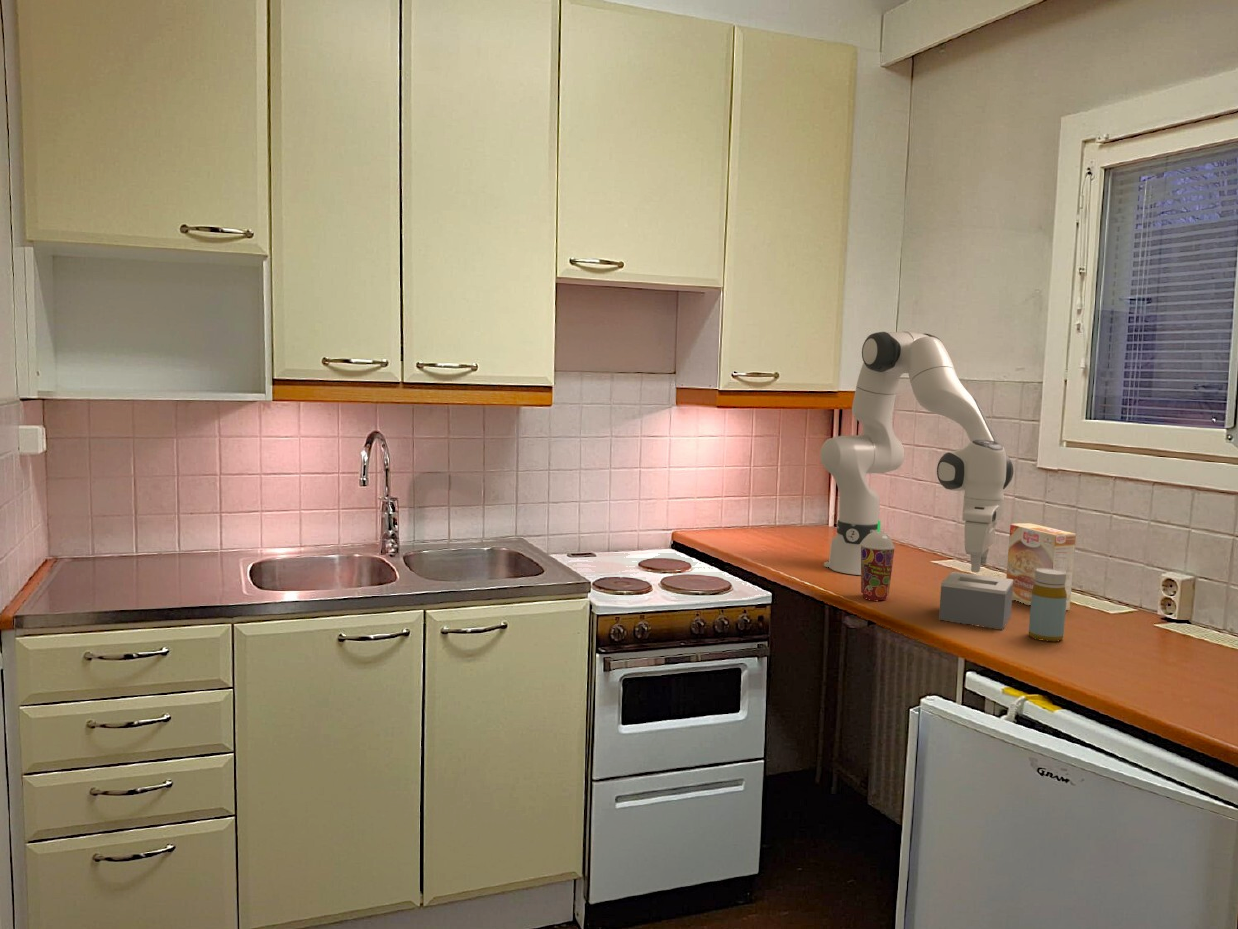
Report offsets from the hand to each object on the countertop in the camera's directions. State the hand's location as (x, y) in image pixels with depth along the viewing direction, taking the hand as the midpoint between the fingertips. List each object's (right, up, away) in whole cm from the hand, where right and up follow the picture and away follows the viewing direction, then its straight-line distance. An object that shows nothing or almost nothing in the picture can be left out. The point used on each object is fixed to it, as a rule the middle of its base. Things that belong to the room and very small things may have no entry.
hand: (978, 568), depth 223 cm
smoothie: (-20, -10, +18) cm, 28 cm away
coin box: (0, -12, +1) cm, 12 cm away
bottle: (+10, -14, -13) cm, 22 cm away
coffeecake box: (+21, -11, +17) cm, 29 cm away
